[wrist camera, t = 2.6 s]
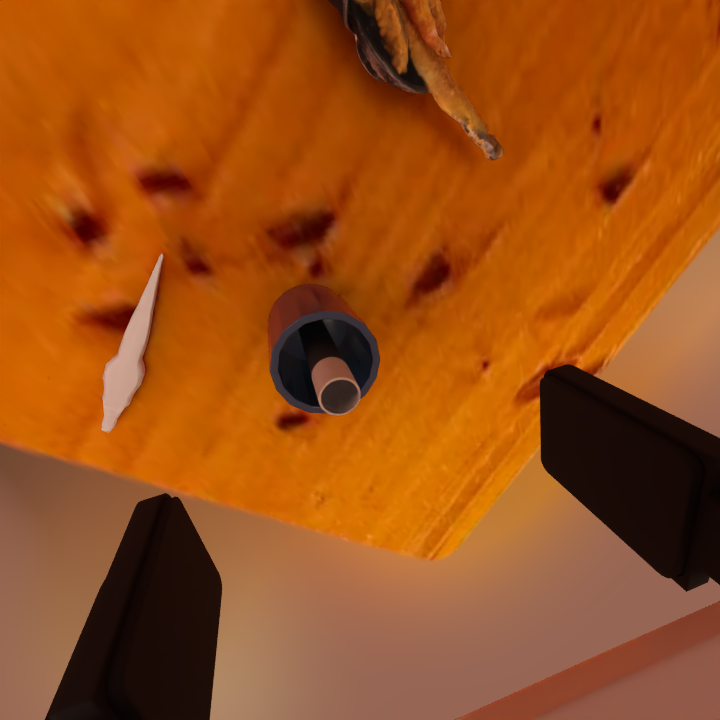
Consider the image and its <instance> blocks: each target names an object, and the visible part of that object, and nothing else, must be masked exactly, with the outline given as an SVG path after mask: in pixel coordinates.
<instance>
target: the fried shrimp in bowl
mask: <svg viewBox="0 0 720 720" xmlns="http://www.w3.org/2000/svg"><path fill="white" fill-rule="evenodd" d="M328 1H329V2H330V3H331V4H332V5H333V6H334V7H335V8H336V9H337V10H338V11H339V12H340V13H341V16H342V20H343V23H344V25H345V27H346V28H347V29H348V30H349V31H350V32H352V33H353V34H354V37H355V40H356V44H357V53H358V56H359V59H360V61H361V63H362V64H363V66H364V67H365V69H366V70H367V71H368V73H369V74H370V75H371V76H372V77H374V78H375V79H377V80H378V81H386V82H387V83H389V84H390V85H392V86H394V87H396V88H398V89H400V90H403V91H406V92H412V93H418V94H427V93H431V94H432V95H433V97H434V100H435V101H436V102H437V104H438V105H439V107H440V108H441V109H442V110H443V111H444V112H445V113H447V114H448V115H449V116H451V117H452V118H453V119H454V120H456V121H458V122H459V123H460V125H461V127H462V129H463V130H464V131H465V133H466V134H467V135H468V137H469V138H470V139H471V140H472V141H473V142H474V143H475V144H476V145H477V146H479V147H480V148H481V149H482V151H483V155H484V156H485V158H487V159H489V160H496V159H498V158H500V157H501V156H502V155H503V154H504V150H503V148H502V146H501V145H500V144H499V142H498V141H497V140H496V139H495V137H494V135H491V134H488V126H487V125H486V124H484V123H483V121H482V119H481V118H480V117H479V116H478V114H477V113H476V110H475V108H474V107H473V106H472V105H471V103H470V102H469V101H468V99H467V98H466V96H465V94H464V92H463V91H462V90H461V89H460V88H459V86H458V85H457V84H456V83H455V82H454V81H453V79H452V77H451V76H450V73H449V69H448V68H447V67H446V66H445V64H444V62H443V61H442V59H441V58H442V57H447V58H451V57H452V55H451V52H450V51H449V49H448V47H447V46H446V44H445V32H446V19H445V16H444V13H443V11H442V6H441V1H440V0H328ZM441 56H442V57H441Z"/></svg>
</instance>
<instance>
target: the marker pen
mask: <svg viewBox="0 0 720 720" xmlns="http://www.w3.org/2000/svg"><path fill="white" fill-rule="evenodd" d="M298 331H299V334H300V338H301V341H302V345H303V348H304V351H305V355H306V358H307V361H308V365H309V368H310V371H311V375H312V381H313V384H314V388H315V391H316V395H317V398H318V401H319V404H320V406H321V408H322V409H323V410H324V411H325V412H326V413H328V414H331V415H336V416H339V415H344V414H347V413H349V412H351V411H352V410H353V409H354V408H355V407H356V406H357V405H358V403H359V401H360V396H361V392H360V388H359V386H358V384H357V382H356V380H355V379H354V377H353V375H352V373H351V371H350V369H349V367H348V366H347V364H346V363H345V362H344V360H343V358H342V356H341V354H340V352H339V350H338V349H337V347H336V345H335V343H334V341H333V339H332V337H331V336H330V334H329V332H328V330H327V328H326V326H325V324H324V322H323V321H322V319H321V320H317V321H314V322H310V323H307V324H304V325H303V326H302V327H300V328H299V329H298Z"/></svg>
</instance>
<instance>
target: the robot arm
mask: <svg viewBox="0 0 720 720" xmlns="http://www.w3.org/2000/svg"><path fill="white" fill-rule="evenodd" d="M540 424H541V461H542V464H543V466H544V468H545V470H546V471H547V472H548V473H549V474H550V475H551V476H552V477H553V478H554V479H556V480H557V481H558V482H559V483H560V484H561V485H562V486H563V487H564V488H566V489H567V490H568V491H569V492H570V493H571V494H572V495H573V496H574V497H576V498H577V499H578V500H579V501H580V502H581V503H582V504H583V505H584V506H585V507H586V508H588V509H589V510H590V511H591V512H592V513H593V514H594V515H595V516H596V517H597V518H599V519H600V520H601V521H602V522H603V523H604V524H606V526H607V527H609V528H610V529H611V530H612V531H613V532H614V533H615V534H616V535H617V536H618V537H619V538H621V539H622V540H623V541H624V542H625V543H626V544H627V545H628V546H629V547H631V548H632V549H633V550H634V551H635V552H636V553H637V554H638V555H639V556H640V557H642V558H643V559H644V560H645V561H646V562H647V563H648V564H649V565H650V566H652V567H653V568H654V569H655V570H656V571H657V572H658V573H659V574H661V575H662V576H664V577H666V578H672V579H673V580H674V581H675V582H676V583H677V584H679V585H680V586H681V587H682V588H683V589H684V590H685V591H686V592H687V591H689V590H691V589H693V588H696V587H698V586H700V585H703V584H705V583H707V582H708V580H709V577H711V578H712V579H713V580H714V581H715V582H717V583H718V584H719V585H720V438H718V437H716V436H714V435H712V434H710V433H708V432H706V431H704V430H702V429H700V428H698V427H696V426H694V425H692V424H690V423H688V422H686V421H684V420H682V419H680V418H678V417H676V416H674V415H672V414H670V413H668V412H666V411H664V410H662V409H659V408H657V407H656V406H653V405H652V404H649V403H648V402H646V401H643V400H641V399H639V398H637V397H635V396H633V395H631V394H629V393H627V392H625V391H623V390H621V389H619V388H617V387H615V386H613V385H611V384H609V383H607V382H605V381H603V380H601V379H599V378H597V377H595V376H593V375H591V374H589V373H587V372H585V371H583V370H581V369H579V368H577V367H575V366H573V365H569V364H568V365H563V366H560V367H557V368H554V369H551V370H548V371H547V372H545V374H544V378H542V379H541V381H540ZM221 596H222V582H221V578H220V575H219V572H218V571H217V569H216V567H215V565H214V563H213V561H212V559H211V557H210V555H209V553H208V552H207V550H206V548H205V546H204V544H203V542H202V540H201V538H200V536H199V534H198V532H197V531H196V529H195V527H194V525H193V523H192V521H191V519H190V517H189V515H188V513H187V511H186V510H185V508H184V506H183V504H182V502H181V500H180V499H179V498H178V497H173V498H171V497H170V495H168V494H166V493H165V494H162V495H159V496H156V497H152V498H149V499H146V500H143V501H140V502H138V504H137V505H136V507H135V510H134V512H133V514H132V517H131V519H130V521H129V524H128V526H127V529H126V531H125V533H124V536H123V539H122V541H121V543H120V546H119V548H118V551H117V553H116V555H115V558H114V560H113V562H112V565H111V567H110V570H109V572H108V575H107V577H106V579H105V580H104V582H103V584H102V586H101V588H100V590H99V592H98V594H97V597H96V599H95V602H94V604H93V606H92V609H91V611H90V613H89V616H88V618H87V621H86V623H85V626H84V628H83V630H82V633H81V635H80V637H79V640H78V642H77V644H76V647H75V649H74V652H73V654H72V656H71V659H70V661H69V663H68V666H67V668H66V671H65V673H64V675H63V678H62V680H61V683H60V685H59V687H58V690H57V692H56V695H55V697H54V699H53V702H52V704H51V706H50V709H49V711H48V713H47V716H46V718H45V720H210V710H211V700H212V689H213V678H214V669H215V659H216V648H217V638H218V627H219V617H220V607H221ZM455 720H720V601H719V602H717V603H714V604H712V605H710V606H708V607H705V608H703V609H701V610H698V611H696V612H694V613H692V614H689V615H687V616H685V617H683V618H680V619H678V620H676V621H674V622H671V623H669V624H667V625H665V626H662V627H660V628H658V629H656V630H654V631H651V632H649V633H647V634H644V635H642V636H640V637H638V638H636V639H633V640H631V641H629V642H627V643H624V644H622V645H620V646H617V647H615V648H613V649H611V650H608V651H607V652H604V653H602V654H600V655H598V656H595V657H593V658H591V659H588V660H586V661H584V662H582V663H580V664H577V665H575V666H573V667H571V668H568V669H566V670H564V671H562V672H560V673H557V674H555V675H553V676H551V677H548V678H546V679H544V680H542V681H540V682H537V683H535V684H533V685H531V686H528V687H526V688H524V689H522V690H520V691H518V692H515V693H513V694H511V695H509V696H506V697H504V698H502V699H500V700H497V701H495V702H493V703H491V704H489V705H486V706H484V707H482V708H480V709H478V710H476V711H473V712H471V713H469V714H467V715H464V716H462V717H460V718H458V719H455Z"/></svg>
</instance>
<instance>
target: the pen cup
mask: <svg viewBox="0 0 720 720" xmlns="http://www.w3.org/2000/svg"><path fill="white" fill-rule="evenodd" d="M321 319H322V321H323V322H324V324H325V326H326V328H327V330H328V332H329V334H330V336H331V337H332V339H333V341H334V343H335V345H336V347H337V349H338V350H339V352H340V354H341V356H342V358H343V360H344V362H345V363H346V364H347V366H348V367H349V369H350V371H351V373H352V375H353V377H354V379H355V380H356V382H357V384H358V386H359V388H360V392H361V396H360V399H361V398H362V397H363V396H365V395H366V393H367V392H368V390H369V389H370V387H371V386H372V384H373V382H374V381H375V379H376V377H377V372H378V367H379V362H380V355H379V351H378V346H377V341H376V339H375V337H374V336H373V335H372V333H371V332H370V331H369V329H368V328H367V326H366V325H365V324H364V323H363V322H362V320H361V319H360V318H359V317H358V316H357V315H356V314H355V312H354V311H353V310H352V309H351V308H350V307H349V306H348V304H347V303H346V302H345V301H344V300H343V299H342V297H341V296H340V295H338V294H337V293H335V292H334V291H332V290H331V289H329V288H327V287H324V286H321V285H316V284H304V285H299V286H296V287H293V288H291V289H289V290H288V291H286V292H285V293H283V294H282V295H281V296H280V297H279V298H278V299H277V300H276V302H275V303H274V305H273V307H272V309H271V311H270V314H269V319H268V347H269V365H270V373H271V376H272V379H273V382H274V385H275V388H276V390H277V391H278V392H279V393H280V394H281V395H282V397H283V398H284V399H285V400H286V401H287V402H288V403H289V404H291V405H292V406H295V407H297V408H299V409H302V410H304V411H306V412H309V413H326V412H325V411H324V410H323V409H322V408H321V406H320V404H319V401H318V398H317V395H316V391H315V388H314V384H313V381H312V375H311V371H310V368H309V365H308V361H307V358H306V355H305V351H304V348H303V345H302V341H301V338H300V334H299V331H298V329H299V328H300V327H302V326H303V325H304V324H307V323H310V322H314V321H317V320H321Z"/></svg>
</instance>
